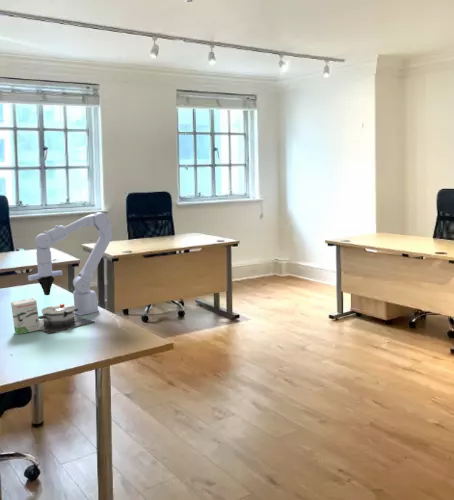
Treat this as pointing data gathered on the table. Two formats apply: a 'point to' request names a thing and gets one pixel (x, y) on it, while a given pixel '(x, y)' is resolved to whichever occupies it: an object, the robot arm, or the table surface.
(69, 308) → the lid
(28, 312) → the ink box
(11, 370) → the table surface
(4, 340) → the table surface
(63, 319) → the cooking pot
